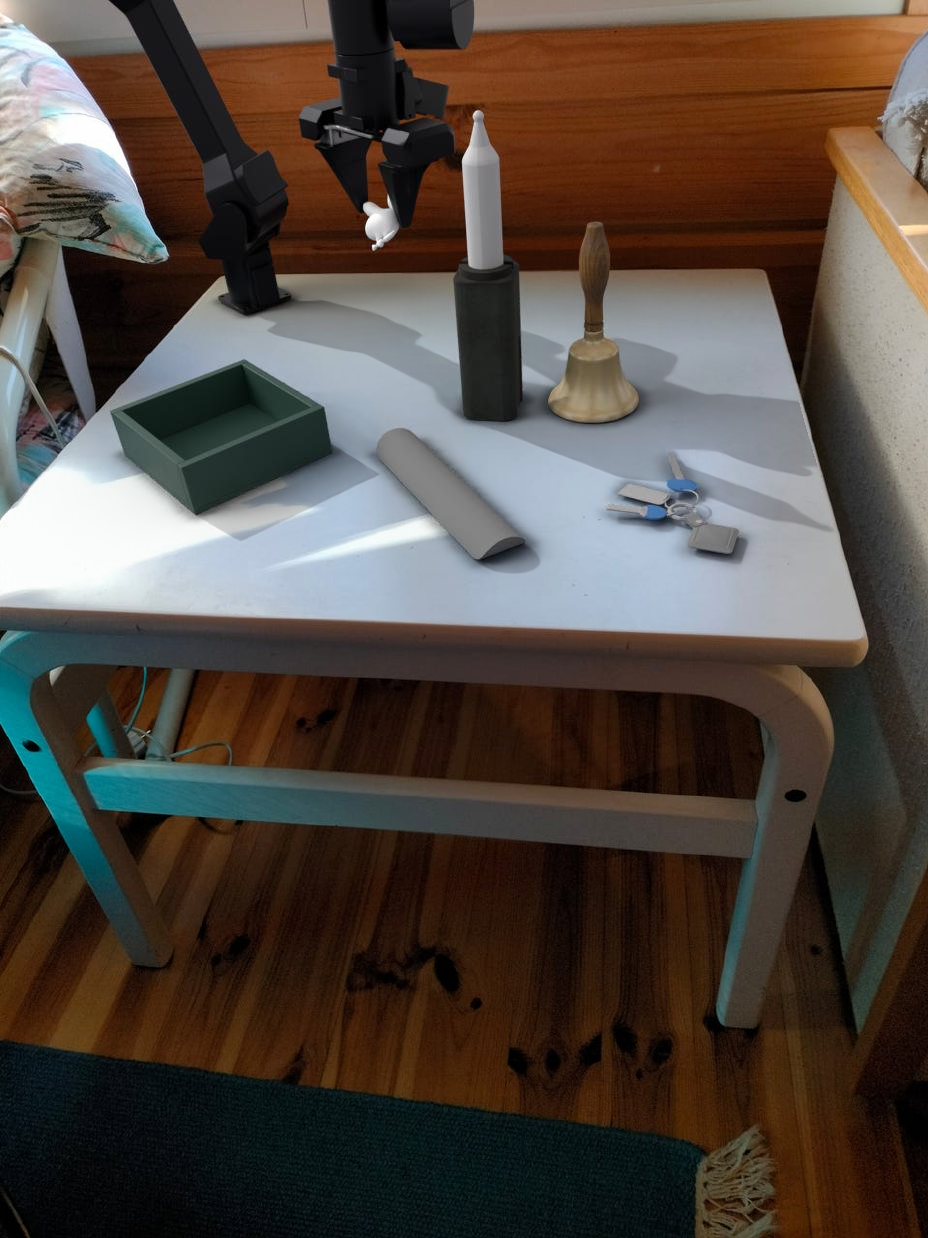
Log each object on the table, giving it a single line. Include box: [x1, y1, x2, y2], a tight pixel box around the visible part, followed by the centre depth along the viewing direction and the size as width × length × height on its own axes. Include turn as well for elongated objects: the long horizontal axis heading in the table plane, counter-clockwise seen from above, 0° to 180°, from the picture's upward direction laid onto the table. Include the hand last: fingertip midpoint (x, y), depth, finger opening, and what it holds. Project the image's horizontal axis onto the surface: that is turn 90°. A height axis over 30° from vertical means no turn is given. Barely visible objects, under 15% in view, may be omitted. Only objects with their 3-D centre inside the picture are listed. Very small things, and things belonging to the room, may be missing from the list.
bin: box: [109, 358, 333, 516], centre depth 84 cm, size 14×14×4 cm
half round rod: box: [375, 427, 527, 560], centre depth 78 cm, size 4×20×2 cm, turn 28°
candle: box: [452, 110, 524, 422], centre depth 81 cm, size 5×5×25 cm
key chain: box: [605, 452, 740, 555], centre depth 74 cm, size 14×8×1 cm, turn 15°
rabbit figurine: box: [363, 195, 400, 251], centre depth 100 cm, size 6×4×8 cm
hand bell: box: [547, 221, 640, 424], centre depth 84 cm, size 8×8×16 cm
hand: (384, 219), depth 101 cm, fingers closed on rabbit figurine, 7 cm apart
